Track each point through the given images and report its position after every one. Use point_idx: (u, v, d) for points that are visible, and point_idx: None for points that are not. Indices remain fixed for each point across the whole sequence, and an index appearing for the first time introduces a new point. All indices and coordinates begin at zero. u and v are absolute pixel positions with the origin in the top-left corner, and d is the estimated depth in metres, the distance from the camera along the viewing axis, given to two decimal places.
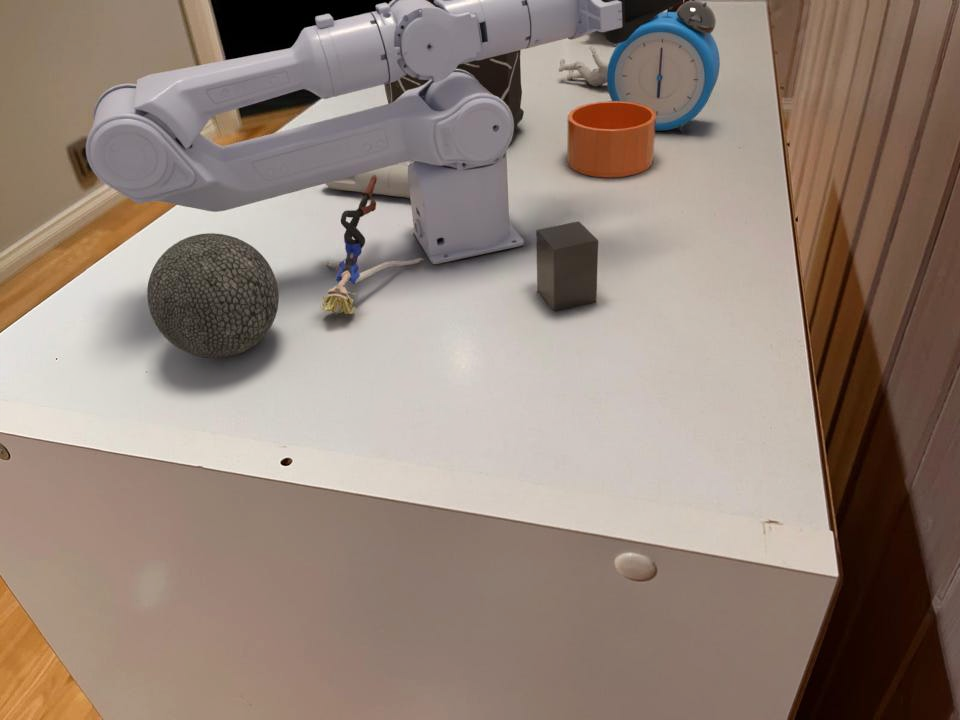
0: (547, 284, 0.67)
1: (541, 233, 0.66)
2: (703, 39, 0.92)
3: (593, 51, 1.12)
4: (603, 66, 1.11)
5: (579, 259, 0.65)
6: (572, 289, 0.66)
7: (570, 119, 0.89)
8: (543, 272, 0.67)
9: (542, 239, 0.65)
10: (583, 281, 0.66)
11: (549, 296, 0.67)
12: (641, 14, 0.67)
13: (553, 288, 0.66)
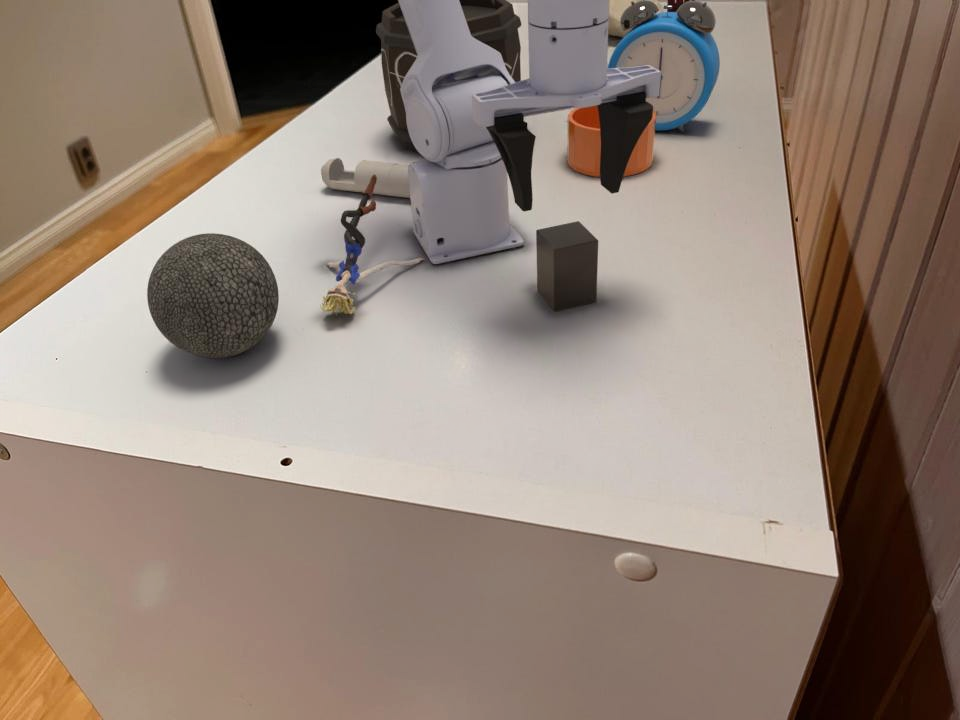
0: (547, 284, 0.67)
1: (541, 233, 0.66)
2: (703, 39, 0.92)
3: None
4: None
5: (579, 259, 0.65)
6: (572, 289, 0.66)
7: (570, 119, 0.89)
8: (543, 272, 0.67)
9: (542, 239, 0.65)
10: (583, 281, 0.66)
11: (549, 296, 0.67)
12: (507, 152, 0.61)
13: (553, 288, 0.66)
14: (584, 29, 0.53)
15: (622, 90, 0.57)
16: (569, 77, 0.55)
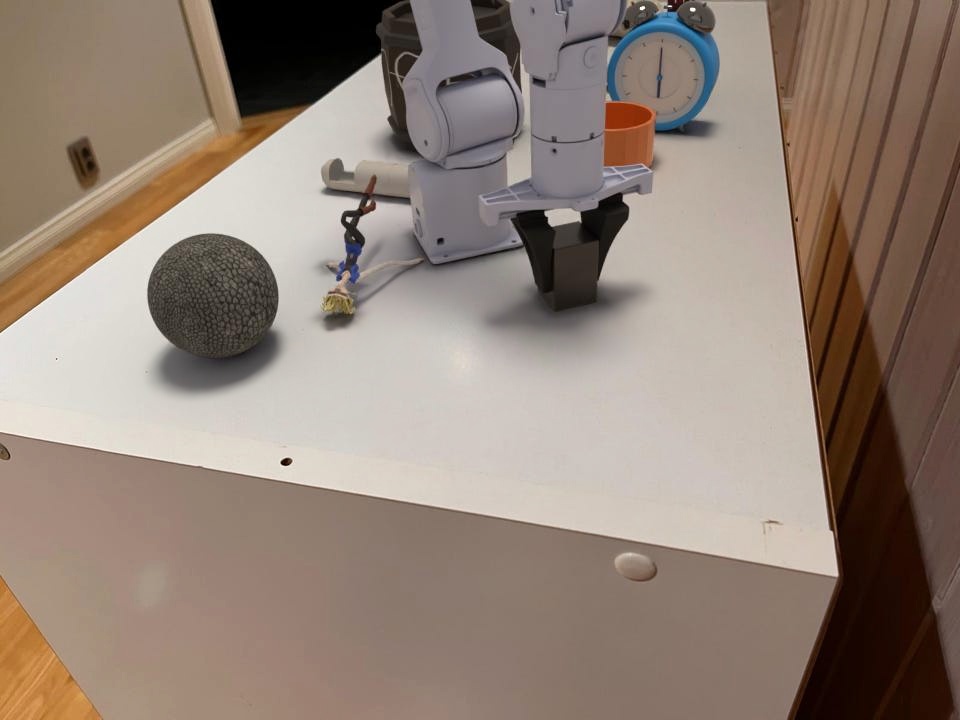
0: None
1: None
2: (703, 39, 0.92)
3: None
4: None
5: (580, 258, 0.65)
6: (573, 288, 0.66)
7: None
8: None
9: None
10: (584, 281, 0.66)
11: (549, 296, 0.67)
12: (528, 240, 0.66)
13: (553, 288, 0.66)
14: (582, 142, 0.58)
15: (617, 191, 0.62)
16: (568, 183, 0.59)
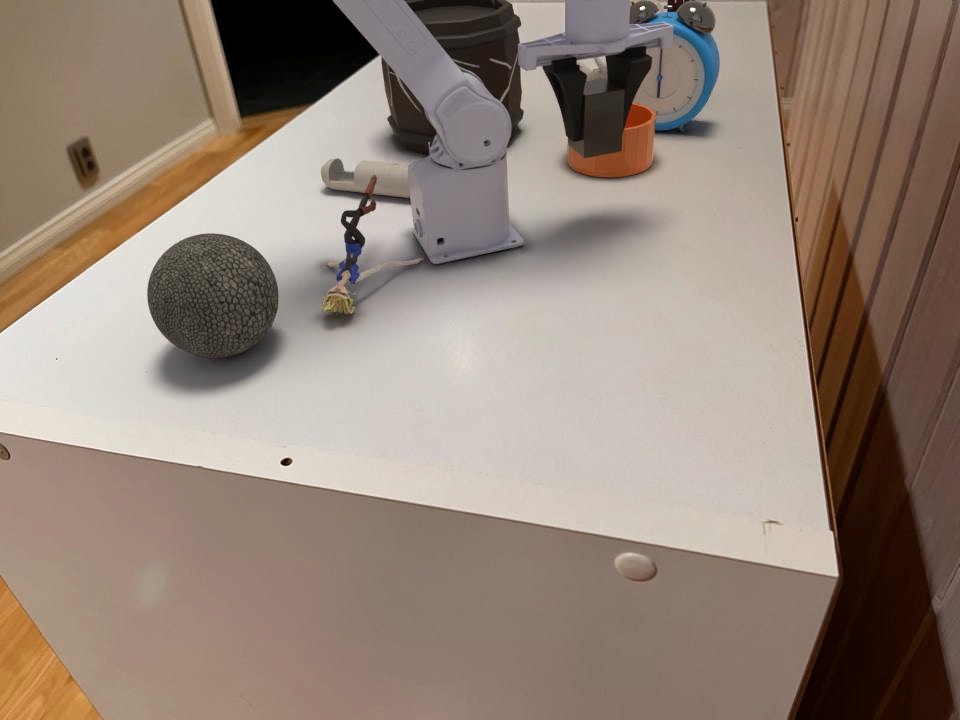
0: None
1: None
2: (703, 39, 0.92)
3: None
4: (603, 66, 1.11)
5: (607, 106, 0.72)
6: (600, 136, 0.74)
7: None
8: None
9: None
10: (610, 130, 0.73)
11: (579, 145, 0.75)
12: (560, 92, 0.73)
13: (583, 134, 0.73)
14: None
15: (641, 41, 0.70)
16: (599, 28, 0.67)
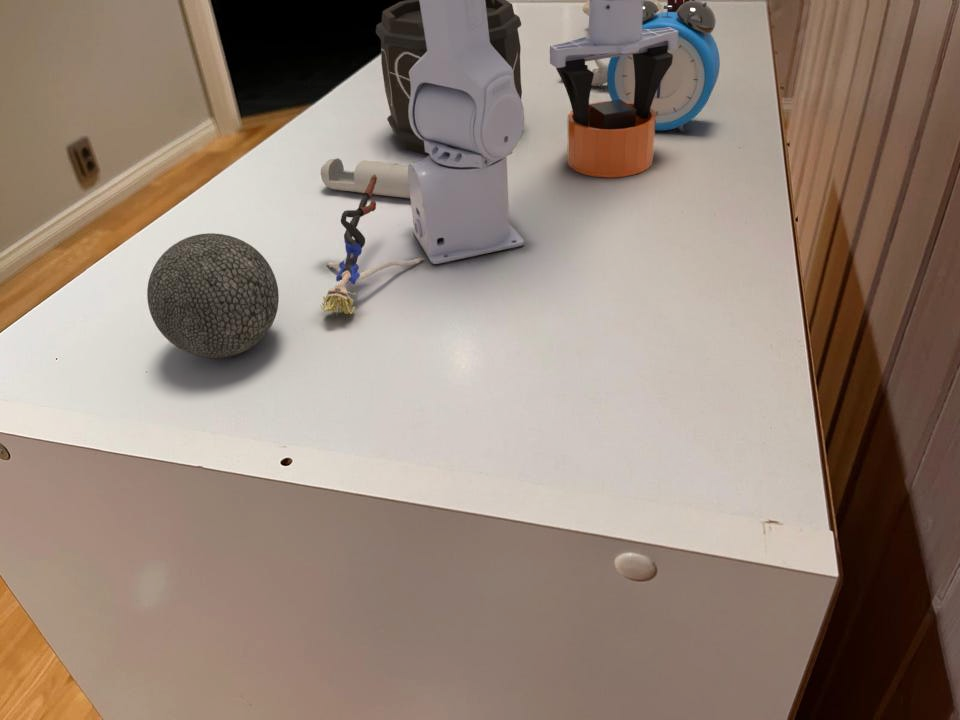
0: None
1: (593, 106, 0.89)
2: (703, 39, 0.92)
3: None
4: (603, 66, 1.11)
5: (622, 123, 0.88)
6: None
7: (570, 119, 0.89)
8: None
9: (594, 109, 0.89)
10: None
11: None
12: (571, 88, 0.87)
13: None
14: (628, 0, 0.80)
15: (652, 43, 0.84)
16: (617, 32, 0.81)
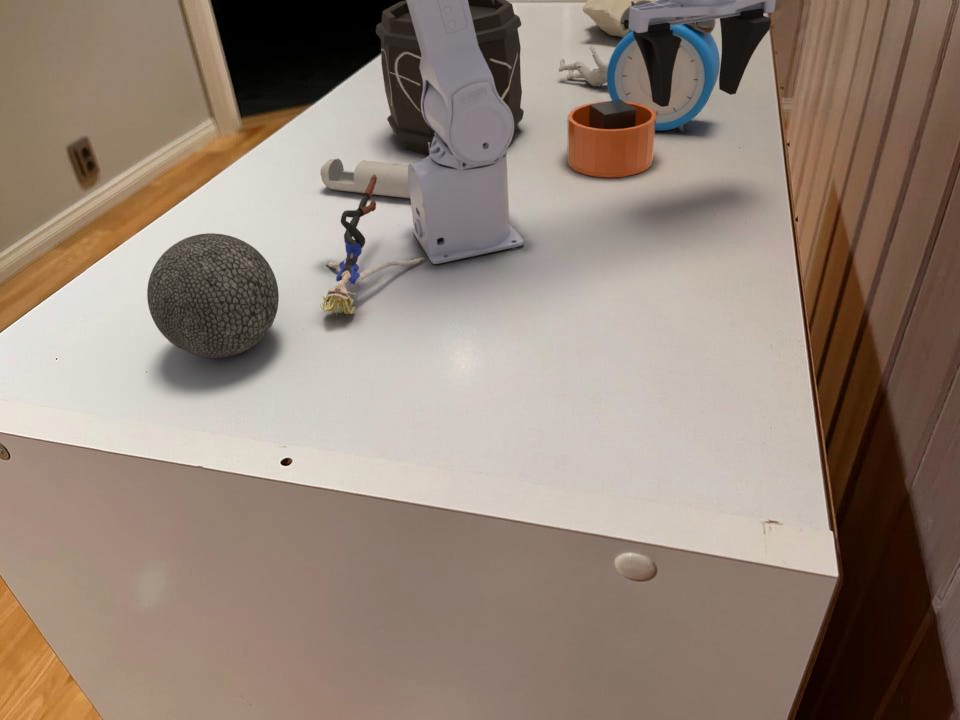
0: None
1: (593, 106, 0.89)
2: (703, 39, 0.92)
3: (593, 51, 1.12)
4: (603, 66, 1.11)
5: (622, 123, 0.88)
6: None
7: (570, 119, 0.89)
8: None
9: (594, 109, 0.89)
10: None
11: None
12: (650, 58, 0.75)
13: None
14: None
15: (748, 4, 0.72)
16: None
